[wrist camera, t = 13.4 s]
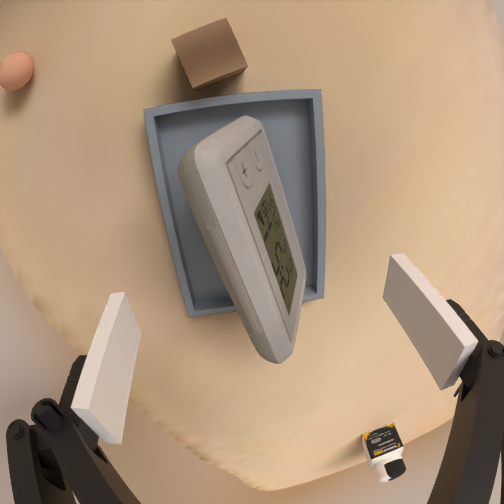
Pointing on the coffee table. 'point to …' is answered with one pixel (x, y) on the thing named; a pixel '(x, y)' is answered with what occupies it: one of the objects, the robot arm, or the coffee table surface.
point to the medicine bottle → (384, 452)
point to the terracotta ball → (16, 71)
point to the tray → (288, 166)
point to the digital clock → (248, 231)
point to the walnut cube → (209, 54)
